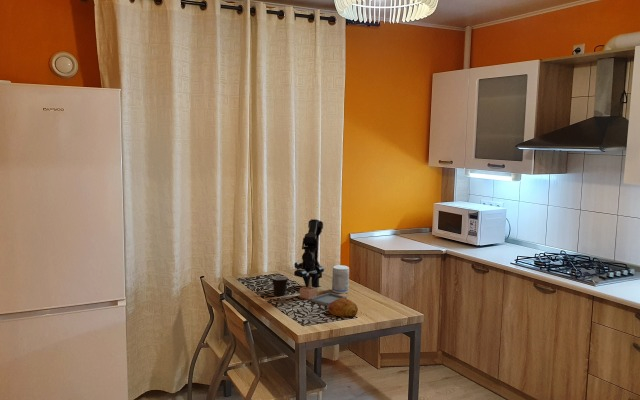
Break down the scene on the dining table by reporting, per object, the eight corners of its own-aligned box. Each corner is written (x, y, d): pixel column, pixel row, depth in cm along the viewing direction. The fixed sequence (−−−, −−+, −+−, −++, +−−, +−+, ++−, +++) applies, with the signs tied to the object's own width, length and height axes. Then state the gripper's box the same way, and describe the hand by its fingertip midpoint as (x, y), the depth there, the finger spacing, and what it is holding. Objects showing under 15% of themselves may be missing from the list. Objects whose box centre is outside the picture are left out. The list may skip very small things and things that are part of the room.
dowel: (308, 295, 283) (308, 276, 282) (312, 296, 281) (312, 277, 280) (304, 296, 280) (305, 277, 279) (308, 298, 279) (309, 278, 277)
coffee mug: (284, 298, 279) (285, 280, 277) (269, 296, 280) (270, 279, 279) (290, 292, 290) (290, 275, 289) (275, 291, 292) (276, 274, 290)
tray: (329, 296, 285) (329, 292, 285) (346, 300, 278) (346, 296, 277) (310, 302, 273) (310, 298, 273) (327, 307, 265) (327, 303, 265)
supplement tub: (331, 289, 299) (332, 264, 298) (347, 289, 299) (348, 265, 297) (332, 294, 289) (332, 268, 288) (348, 294, 289) (349, 269, 288)
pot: (307, 295, 286) (308, 285, 285) (317, 297, 281) (317, 288, 281) (299, 297, 280) (300, 288, 280) (308, 300, 276) (309, 290, 275)
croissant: (346, 310, 268) (346, 295, 268) (362, 315, 254) (362, 299, 254) (322, 313, 261) (322, 297, 262) (337, 318, 248) (336, 302, 248)
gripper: (309, 253, 291) (309, 280, 292) (287, 258, 276) (286, 286, 278) (324, 257, 283) (323, 284, 285) (302, 262, 269) (301, 290, 271)
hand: (308, 286), depth 280 cm, fingers closed on dowel, 3 cm apart
